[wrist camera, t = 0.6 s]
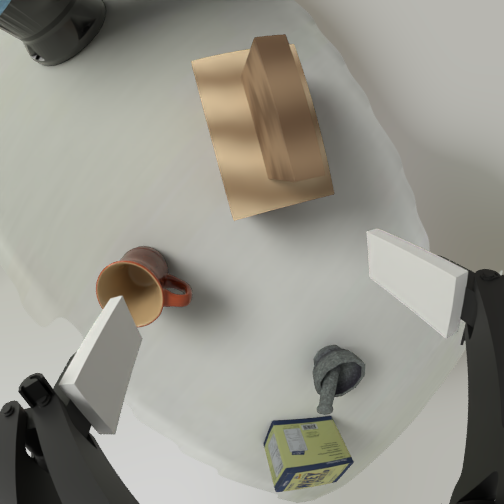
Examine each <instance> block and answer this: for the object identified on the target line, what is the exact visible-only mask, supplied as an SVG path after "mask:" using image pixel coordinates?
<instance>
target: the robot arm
mask: <svg viewBox="0 0 504 504" xmlns="http://www.w3.org/2000/svg"><path fill="white" fill-rule="evenodd" d="M105 14H106V9H105V5H104V3H103V2H102V0H0V29H2V30H4V31H5V32H7V33H9V34H11V35H13V36H15V37H16V38H18V39H20V40H22V41H23V43H24V45H25V47H26V49H27V51H28V53H29V55H30V56H31V58H32V59H33V60H35V61H36V62H38V63H40V64H42V65H46V66H51V65H56V64H59V63H62V62H64V61H66V60H68V59H70V58H72V57H73V56H75V55H76V54H77V53H79V52H80V51H81V50H82V49H83V48H85V47H86V46H87V45H88V44H89V43H90V41H91V40H92V39H93V38H94V37H95V35H96V34H97V33H98V31H99V30H100V28H101V26H102V24H103V22H104V19H105ZM366 234H367V246H368V261H369V278H371V279H372V280H373V281H375V282H376V283H377V284H378V285H380V286H381V287H382V288H384V289H385V290H386V291H388V292H389V293H390V294H391V295H393V296H394V297H395V298H396V299H398V300H399V301H400V302H402V303H403V304H404V305H405V306H407V307H408V308H409V309H410V310H412V311H413V312H414V313H415V314H417V315H418V316H419V317H420V318H421V319H423V320H424V321H425V322H426V323H428V324H429V325H430V326H431V327H432V328H434V329H435V330H436V331H437V332H438V333H439V334H441V335H442V336H443V337H444V338H445V339H446V338H448V337H450V336H451V335H453V334H454V333H456V332H458V328H459V324H460V319H462V320H463V321H464V322H466V324H465V329H464V333H463V336H462V340H461V345H463V343H464V341H466V351H467V364H468V398H469V400H468V402H469V403H468V425H467V438H466V448H465V455H464V463H463V469H462V473H461V476H460V478H459V480H458V482H457V484H456V486H455V488H454V491H453V493H452V496H451V500H450V503H449V504H504V275H502V276H501V275H500V274H499V273H497V272H496V271H493V270H489V269H482V270H479V271H477V272H476V273H474V272H472V271H470V270H468V269H466V268H464V267H462V266H460V265H459V264H455V263H454V262H453V261H449V260H448V259H446V258H444V257H442V256H439V255H435V254H433V253H431V252H429V251H427V250H425V249H423V248H421V247H419V246H416V245H414V244H412V243H410V242H408V241H406V240H403V239H401V238H399V237H397V236H394V235H392V234H390V233H388V232H385V231H383V230H381V229H378V228H377V229H373V230H370V231H366ZM141 341H142V337H141V335H140V333H139V331H138V329H137V327H136V325H135V322H134V320H133V318H132V316H131V314H130V312H129V309H128V307H127V305H126V303H125V300H124V298H123V296H118V297H114V298H110V300H109V301H108V303H107V304H106V306H105V307H104V309H103V310H102V312H101V313H100V315H99V316H98V318H97V320H96V321H95V323H94V324H93V326H92V327H91V329H90V331H89V332H88V334H87V336H86V337H85V339H84V341H83V342H82V344H81V346H80V347H79V349H78V351H77V352H76V353H75V354H74V355H73V356H72V357H71V358H70V359H69V361H68V363H67V366H66V367H65V368H64V370H63V372H62V374H61V375H60V377H59V379H58V381H57V383H56V384H55V386H54V389H52V387H51V386H50V385H49V383H48V382H47V380H46V379H45V377H44V376H43V375H42V374H40V373H35V374H33V375H30V376H29V377H27V378H26V379H25V380H24V381H23V382H22V383H21V385H20V387H19V393H20V394H21V396H22V397H23V398H24V399H25V401H26V402H27V403H28V404H29V406H30V407H31V408H27V409H23V408H22V407H21V405H20V404H19V403H18V402H17V401H10V402H9V403H6V404H5V405H4V406H3V408H2V409H1V411H0V504H139V503H138V501H137V500H136V499H135V498H134V496H133V495H132V494H131V492H130V491H129V490H128V488H127V487H126V486H125V484H124V483H123V482H122V481H121V479H120V477H119V476H118V475H117V474H116V472H115V470H114V469H113V467H112V466H111V464H110V463H109V461H108V460H107V458H106V456H105V455H104V453H103V452H102V450H101V448H100V447H99V445H98V443H97V442H96V440H95V438H94V437H93V436H92V435H91V434H90V433H89V430H90V427H91V425H92V426H93V427H94V429H95V430H96V431H97V432H98V433H99V434H115V433H116V429H117V425H118V421H119V417H120V413H121V409H122V405H123V402H124V398H125V394H126V391H127V387H128V384H129V380H130V377H131V373H132V370H133V367H134V364H135V360H136V357H137V354H138V351H139V348H140V345H141ZM25 447H26V448H27V449H28V450H29V451H30V452H31V457H30V456H29V455H28V454H27V452H26V448H25Z"/></svg>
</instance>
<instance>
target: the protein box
mask: <svg viewBox="0 0 504 504" xmlns="http://www.w3.org/2000/svg"><path fill="white" fill-rule="evenodd" d="M264 448H265V451H266V455H267V459H268V463H269V467H270V472H271V476H272V480H273V483H274V487H275V491H276V492H282V491H290V490H296V489H302V488H308V487H314V486H319V485H323V484H328V483H333V482H337V480H338V479H339V478H340V477H341V476H342V475H343V474H344V473H345V472H346V470H347V469H348V468H349V467H350V466H351V465H352V464H353V460H352V458H351V456H350V454H349V452H348V450H347V447H346V445H345V443H344V441H343V439H342V437H341V435H340V433H339V431H338V429H337V427H336V425H335V423H334V421H333V419H332V417H331V416H326V417H317V418H307V419H295V420H278V421H272V423H271V426H270V428H269V431H268V433H267V436H266V439H265V441H264Z"/></svg>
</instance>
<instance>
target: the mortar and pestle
mask: <svg viewBox="0 0 504 504" xmlns="http://www.w3.org/2000/svg"><path fill="white" fill-rule="evenodd" d="M314 365H315V367H314V369H313V379H314V385H315V389H316V391H317V393H318V394H320V402H319V406H318V407H317V412H318V413H320V414H324V415H326V414H330V413H332V412H333V407H332V404H333V400H334V397H339V396H343V395H344V394H346V393H348V392H349V391H351V390H352V389H354V388H356V386H357V385H358V384H359V382H360V381H361V380H362V378H363V377H364V374H365V364H364V363H363V361H362V360H361V359H360V358H358V357H357V356H356V355H355V354H353V353H352V352H350V351H349V350H345V349H341V348H340V347H338V346H337V345H331V346H326V347H325V348H323V349H321V350H320V351H318V353H317V354H316V356H315V358H314Z"/></svg>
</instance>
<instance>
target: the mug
mask: <svg viewBox="0 0 504 504" xmlns="http://www.w3.org/2000/svg"><path fill="white" fill-rule="evenodd" d="M166 288H174V289H178V290H180V291H182V292H183V293H184V295H178V294H174V293H172V292H170V291H168V290H167V289H166ZM96 294H97V298H98V301H99V304H100V306H101V307H102V309H104V307H105V306H106V304H107V303H108V301H109V300H110V298H114V297H118V296H123V298H124V300H125V303H126V305H127V307H128V309H129V312H130V314H131V316H132V318H133V320H134V322H135V325H136V327H143V326H146V325H148V324H150V323H152V322H153V321H155V320H156V319H157V318H158V317H159V316H160V314H161V312H162V309H163V307H170V306H174V307H184V306H187V305H189V304H190V302H191V300H192V288H191V287H190V285H189V284H188V283H186V282H185V281H183V280H181V279H179V278H177V277H175V276H173V275H171V274H168V266H167V262H166V260H165V259H164V257H163V256H162V255H161V253H159V252H158V251H157V250H155V249H153V248H151V247H146V246H141V247H137V248H134V249H132V250H130V251H128V252H127V253H126V254H125V255H124V256H123V257H122V258H121V260H120V261H117V262H114V263H111V264H110V265H108V266H107V267H105V268H104V269H103V270H102V272H101V273H100V275H99V277H98V280H97V284H96Z"/></svg>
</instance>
